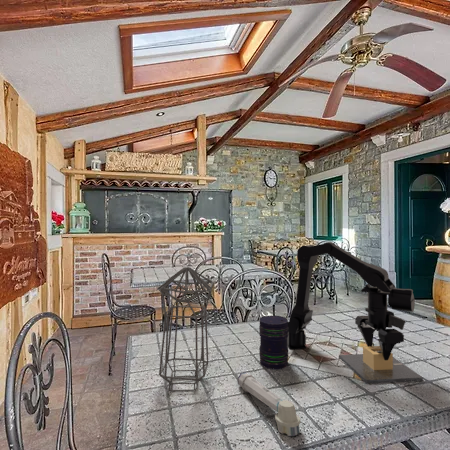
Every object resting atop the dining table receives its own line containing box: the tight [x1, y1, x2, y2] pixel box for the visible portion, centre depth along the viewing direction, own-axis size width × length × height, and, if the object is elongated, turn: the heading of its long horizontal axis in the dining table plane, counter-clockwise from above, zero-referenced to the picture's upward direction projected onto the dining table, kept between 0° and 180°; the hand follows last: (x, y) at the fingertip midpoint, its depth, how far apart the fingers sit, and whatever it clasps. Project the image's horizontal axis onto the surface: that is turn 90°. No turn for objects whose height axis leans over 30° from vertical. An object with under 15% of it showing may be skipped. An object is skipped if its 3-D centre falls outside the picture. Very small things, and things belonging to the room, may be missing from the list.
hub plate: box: [338, 351, 424, 384], centre depth 102 cm, size 18×18×6 cm
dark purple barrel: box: [258, 315, 289, 371], centre depth 106 cm, size 10×10×15 cm
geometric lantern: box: [156, 266, 214, 392], centre depth 93 cm, size 16×16×35 cm
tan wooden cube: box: [362, 345, 394, 370], centre depth 102 cm, size 6×6×6 cm
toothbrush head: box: [237, 372, 301, 437], centre depth 80 cm, size 5×7×25 cm
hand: (377, 354), depth 102 cm, fingers open, 9 cm apart
